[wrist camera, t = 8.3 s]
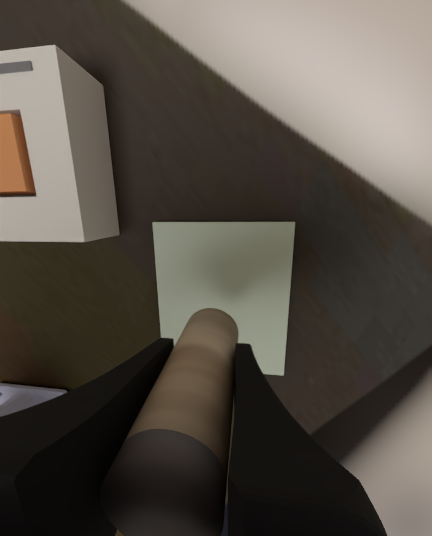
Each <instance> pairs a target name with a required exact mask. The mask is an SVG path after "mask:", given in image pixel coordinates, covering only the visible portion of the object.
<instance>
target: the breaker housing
mask: <svg viewBox="0 0 432 536" xmlns="http://www.w3.org/2000/svg"><path fill="white" fill-rule="evenodd" d="M8 113H11V114H13V115H16V116H18V117H21V118H22V122H23V128H24V133H25V138H26V143H27V148H28V154H29V159H30V164H31V169H32V175H33V180H34V185H35V190H36V195H4V194H0V241H29V242H88V241H93V240H98V239H103V238H108V237H112V236H117V235H120V233H119V224H118V215H117V206H116V197H115V188H114V179H113V170H112V161H111V152H110V143H109V134H108V125H107V116H106V107H105V98H104V89H103V85H102V84H101V83H100V82H98V81H97V80H96V79H95V78H94V77H93V76H91V75H90V74H89V73H88V72H87V71H85V70H84V69H83V68H82V67H81V66H80V65H78V64H77V63H76V62H75V61H74V60H73V59H71V58H70V57H69V56H68V55H67V54H65V53H64V52H63V51H62V50H61V49H60V48H58V47H57V46H56V45H49V46H41V47H32V48H23V49H15V50H6V51H0V114H8Z"/></svg>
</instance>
